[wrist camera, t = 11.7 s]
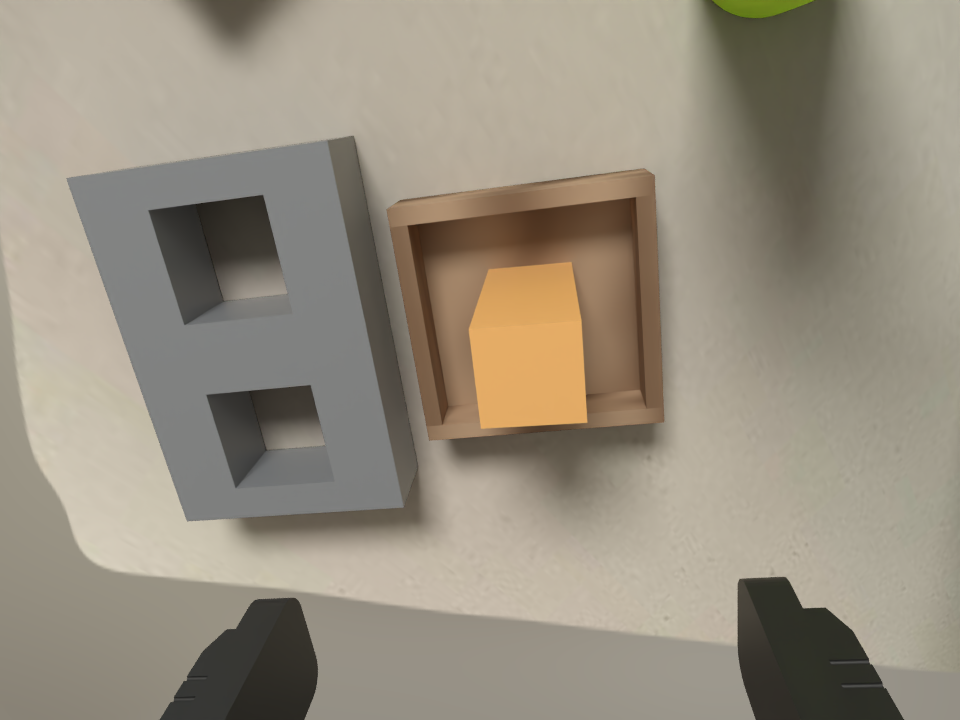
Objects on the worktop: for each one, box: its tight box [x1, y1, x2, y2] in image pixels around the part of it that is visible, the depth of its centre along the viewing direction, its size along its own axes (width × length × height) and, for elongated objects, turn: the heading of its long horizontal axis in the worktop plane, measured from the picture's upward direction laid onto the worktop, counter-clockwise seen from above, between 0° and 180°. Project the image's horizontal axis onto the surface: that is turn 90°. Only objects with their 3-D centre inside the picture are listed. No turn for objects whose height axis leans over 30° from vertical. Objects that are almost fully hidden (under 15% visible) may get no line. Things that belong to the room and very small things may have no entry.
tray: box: [387, 169, 664, 441], centre depth 31 cm, size 12×12×3 cm
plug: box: [469, 262, 587, 429], centre depth 28 cm, size 4×4×9 cm
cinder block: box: [66, 136, 418, 521], centre depth 33 cm, size 12×18×4 cm, turn 8°
